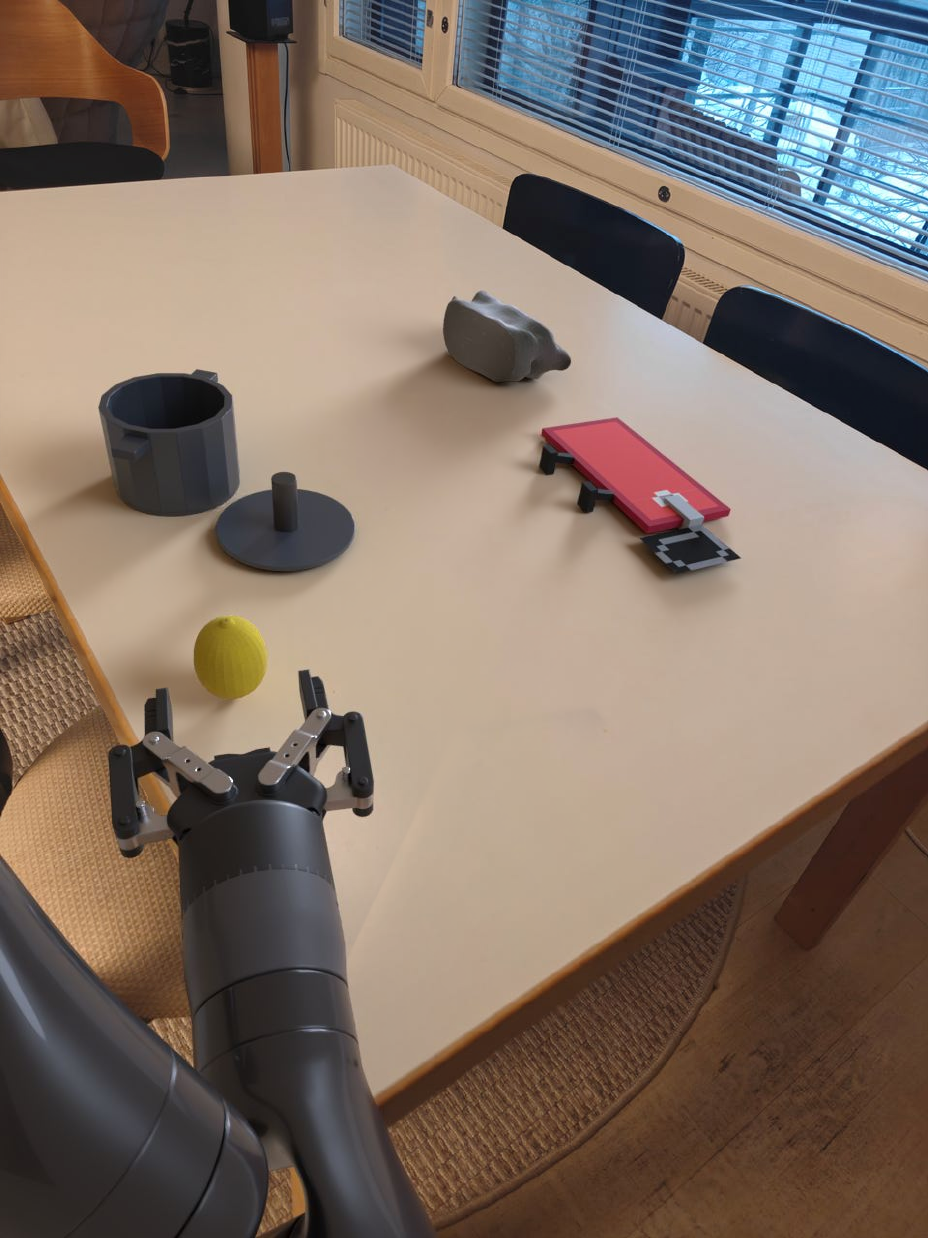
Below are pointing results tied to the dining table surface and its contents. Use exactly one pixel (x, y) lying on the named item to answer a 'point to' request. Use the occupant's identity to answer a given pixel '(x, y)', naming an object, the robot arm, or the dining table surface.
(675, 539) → the red board with handle
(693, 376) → the dining table surface
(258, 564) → the pot lid
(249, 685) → the lemon
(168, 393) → the pot
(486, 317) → the rock
